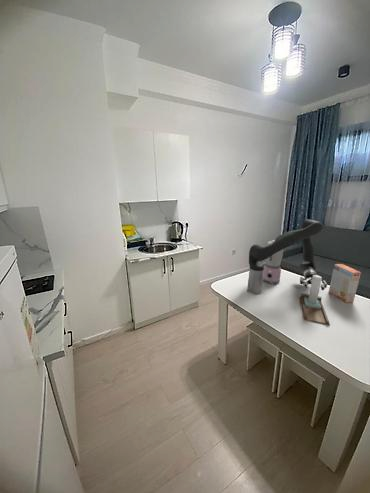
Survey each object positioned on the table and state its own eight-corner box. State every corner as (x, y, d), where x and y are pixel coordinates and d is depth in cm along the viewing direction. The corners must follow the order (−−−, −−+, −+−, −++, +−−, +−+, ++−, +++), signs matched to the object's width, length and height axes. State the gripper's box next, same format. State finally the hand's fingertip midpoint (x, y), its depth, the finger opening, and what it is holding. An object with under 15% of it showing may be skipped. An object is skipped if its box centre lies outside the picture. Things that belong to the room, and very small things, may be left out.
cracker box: (353, 302, 128) (362, 272, 122) (344, 303, 127) (352, 272, 121) (336, 291, 141) (342, 263, 135) (328, 291, 141) (334, 263, 135)
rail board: (303, 319, 113) (304, 314, 112) (299, 298, 134) (300, 292, 133) (329, 325, 108) (330, 319, 107) (320, 301, 130) (321, 296, 128)
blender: (265, 275, 166) (269, 238, 156) (281, 279, 159) (286, 240, 149) (258, 283, 154) (263, 242, 144) (275, 288, 147) (281, 245, 137)
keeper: (305, 306, 123) (310, 278, 118) (303, 299, 130) (308, 273, 125) (320, 309, 120) (326, 280, 115) (318, 302, 127) (323, 275, 122)
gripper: (299, 269, 139) (302, 280, 124) (324, 272, 133) (329, 284, 119) (297, 279, 141) (300, 290, 127) (322, 283, 135) (327, 295, 121)
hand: (314, 287), depth 123 cm, fingers open, 8 cm apart
